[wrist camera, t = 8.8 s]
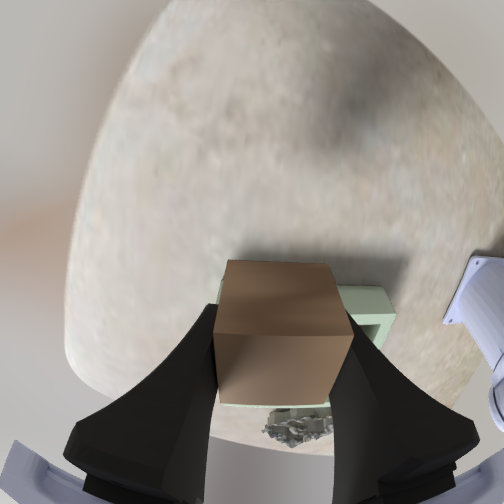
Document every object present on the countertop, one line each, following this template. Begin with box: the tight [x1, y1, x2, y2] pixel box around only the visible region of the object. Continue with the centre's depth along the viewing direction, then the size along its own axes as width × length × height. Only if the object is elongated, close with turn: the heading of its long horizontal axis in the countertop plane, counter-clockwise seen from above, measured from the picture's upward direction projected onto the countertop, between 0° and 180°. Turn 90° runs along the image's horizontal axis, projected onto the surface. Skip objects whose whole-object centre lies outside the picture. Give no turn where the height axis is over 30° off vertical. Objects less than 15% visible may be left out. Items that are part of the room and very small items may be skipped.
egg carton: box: [262, 407, 334, 448], centre depth 29 cm, size 11×8×4 cm
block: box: [213, 260, 354, 406], centre depth 10 cm, size 4×4×4 cm
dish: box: [216, 280, 397, 408], centre depth 22 cm, size 13×13×4 cm
